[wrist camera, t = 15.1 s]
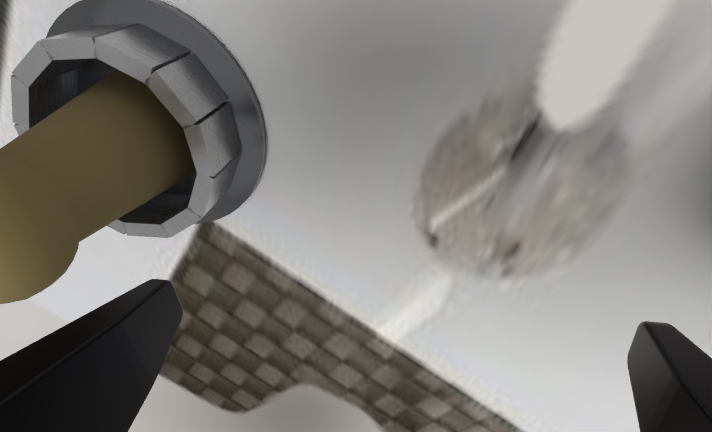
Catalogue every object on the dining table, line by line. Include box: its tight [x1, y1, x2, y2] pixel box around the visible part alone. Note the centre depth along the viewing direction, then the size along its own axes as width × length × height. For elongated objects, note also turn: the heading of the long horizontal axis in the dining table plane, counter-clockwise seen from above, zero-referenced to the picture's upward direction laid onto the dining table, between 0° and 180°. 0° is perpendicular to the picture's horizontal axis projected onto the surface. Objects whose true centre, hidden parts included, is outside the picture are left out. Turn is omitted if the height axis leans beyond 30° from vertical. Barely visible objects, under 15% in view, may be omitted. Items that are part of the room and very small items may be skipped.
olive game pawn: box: [0, 70, 196, 304], centre depth 18 cm, size 6×6×11 cm
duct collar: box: [11, 0, 266, 238], centre depth 21 cm, size 12×12×4 cm
